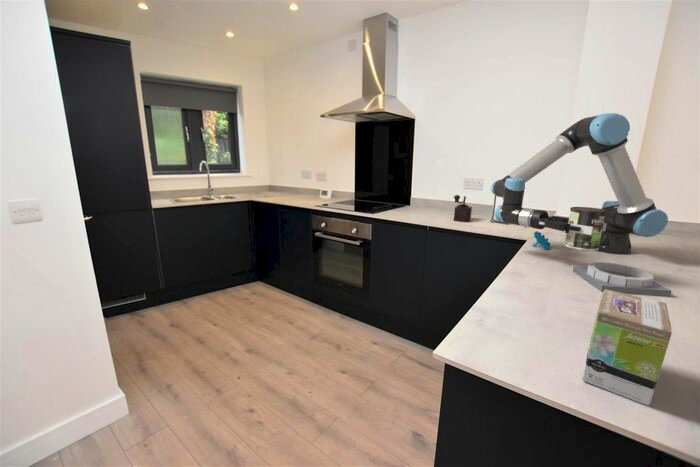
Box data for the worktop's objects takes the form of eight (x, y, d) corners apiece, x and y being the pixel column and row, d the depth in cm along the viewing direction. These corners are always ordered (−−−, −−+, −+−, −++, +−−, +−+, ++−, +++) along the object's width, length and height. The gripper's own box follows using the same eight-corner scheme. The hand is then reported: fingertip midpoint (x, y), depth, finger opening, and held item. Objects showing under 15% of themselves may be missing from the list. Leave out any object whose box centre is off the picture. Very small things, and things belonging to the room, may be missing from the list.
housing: (629, 275, 116) (632, 263, 115) (670, 296, 98) (673, 283, 97) (572, 271, 120) (574, 259, 118) (601, 291, 101) (603, 278, 100)
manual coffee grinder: (454, 218, 222) (456, 192, 218) (471, 219, 217) (473, 193, 213) (451, 222, 209) (453, 195, 204) (468, 224, 204) (471, 196, 199)
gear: (545, 248, 144) (532, 230, 149) (533, 254, 148) (522, 236, 153) (556, 247, 150) (544, 230, 155) (545, 254, 154) (533, 237, 159)
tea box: (652, 409, 54) (674, 331, 50) (580, 381, 60) (595, 311, 57) (649, 367, 65) (667, 300, 61) (589, 347, 71) (602, 286, 68)
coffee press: (519, 224, 202) (526, 177, 195) (494, 224, 203) (500, 177, 196) (507, 219, 219) (512, 175, 212) (484, 219, 219) (489, 175, 212)
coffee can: (605, 249, 112) (613, 210, 109) (586, 252, 108) (594, 211, 105) (575, 242, 121) (582, 206, 118) (557, 244, 118) (563, 207, 114)
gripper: (546, 224, 134) (610, 235, 116) (517, 231, 123) (582, 244, 104) (549, 207, 133) (614, 215, 115) (519, 212, 121) (586, 221, 103)
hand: (598, 229), depth 109 cm, fingers closed on coffee can, 10 cm apart
